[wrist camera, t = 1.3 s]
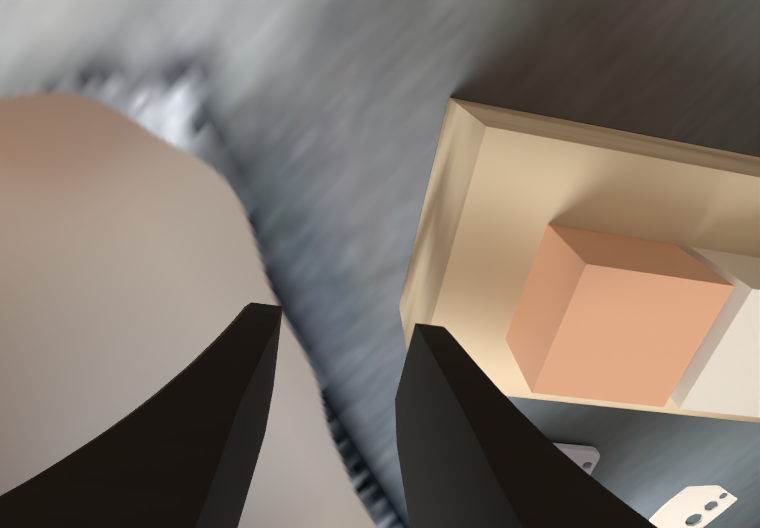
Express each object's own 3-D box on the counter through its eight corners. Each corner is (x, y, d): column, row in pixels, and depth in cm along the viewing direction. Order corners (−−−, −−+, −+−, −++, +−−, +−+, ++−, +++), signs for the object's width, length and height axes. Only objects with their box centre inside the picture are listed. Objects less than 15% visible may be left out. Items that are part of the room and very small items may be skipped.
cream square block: (739, 367, 17) (800, 421, 14) (633, 354, 16) (679, 408, 14) (805, 265, 15) (887, 309, 13) (689, 246, 14) (752, 288, 12)
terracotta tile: (619, 352, 16) (663, 407, 14) (505, 338, 15) (531, 392, 13) (674, 243, 14) (734, 286, 12) (547, 223, 14) (586, 263, 11)
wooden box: (692, 343, 22) (778, 424, 18) (399, 305, 20) (413, 385, 16) (797, 164, 19) (938, 210, 14) (449, 97, 17) (486, 126, 12)
